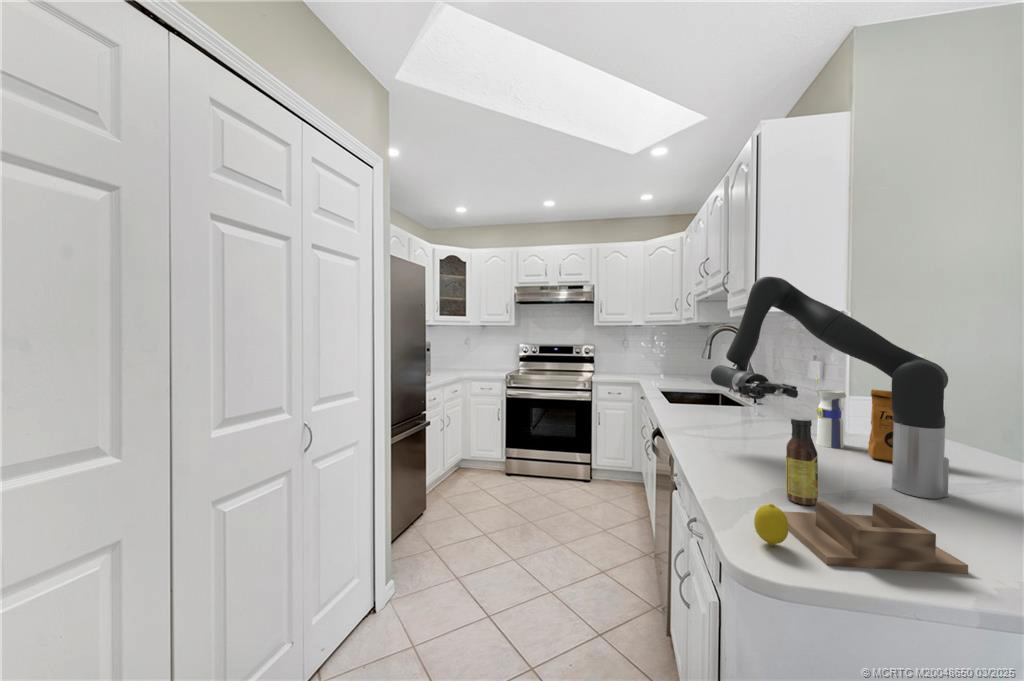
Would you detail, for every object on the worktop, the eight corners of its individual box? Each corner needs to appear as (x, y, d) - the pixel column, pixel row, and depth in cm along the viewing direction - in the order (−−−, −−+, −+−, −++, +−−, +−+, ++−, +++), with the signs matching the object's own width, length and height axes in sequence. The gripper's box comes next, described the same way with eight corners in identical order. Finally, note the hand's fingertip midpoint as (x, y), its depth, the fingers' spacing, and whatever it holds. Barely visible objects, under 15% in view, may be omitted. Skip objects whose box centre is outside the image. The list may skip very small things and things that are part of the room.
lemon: (747, 538, 81) (748, 498, 80) (773, 537, 81) (774, 497, 81) (767, 553, 75) (768, 511, 75) (795, 552, 76) (796, 509, 75)
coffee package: (923, 469, 119) (925, 394, 118) (867, 460, 128) (868, 390, 127) (922, 461, 126) (924, 391, 126) (869, 453, 135) (870, 387, 134)
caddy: (884, 523, 87) (884, 492, 86) (968, 573, 69) (969, 535, 69) (773, 517, 89) (774, 488, 89) (826, 565, 71) (827, 528, 71)
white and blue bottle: (823, 448, 140) (825, 376, 140) (810, 441, 149) (811, 373, 148) (850, 449, 139) (852, 376, 138) (835, 442, 147) (836, 373, 147)
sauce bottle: (823, 507, 94) (824, 422, 93) (793, 505, 95) (794, 421, 95) (808, 496, 100) (810, 416, 100) (780, 494, 102) (781, 415, 101)
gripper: (725, 371, 125) (750, 379, 109) (775, 372, 123) (808, 380, 107) (725, 396, 125) (749, 406, 109) (774, 397, 123) (807, 408, 107)
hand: (778, 393), depth 108 cm, fingers open, 8 cm apart
